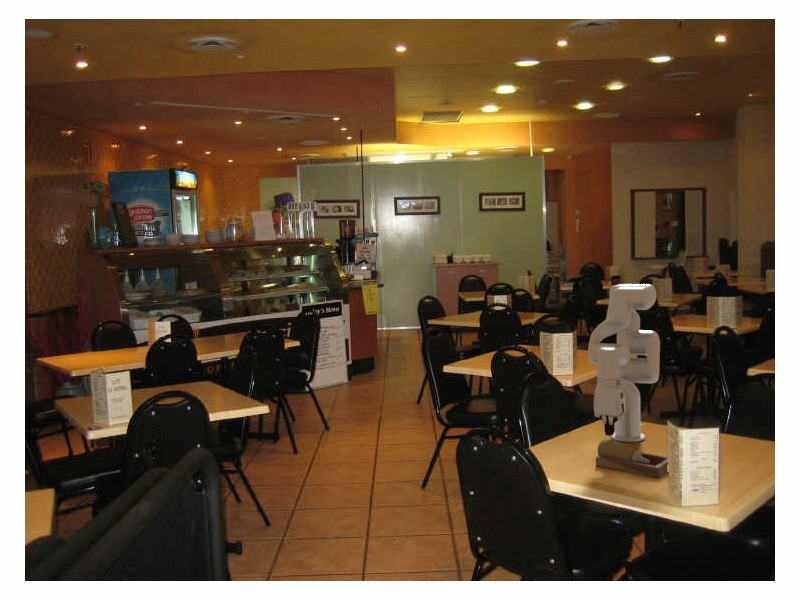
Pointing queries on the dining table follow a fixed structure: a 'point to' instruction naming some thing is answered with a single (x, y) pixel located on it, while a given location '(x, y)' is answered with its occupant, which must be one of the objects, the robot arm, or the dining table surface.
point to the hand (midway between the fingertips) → (609, 434)
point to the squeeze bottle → (620, 452)
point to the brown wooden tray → (636, 465)
